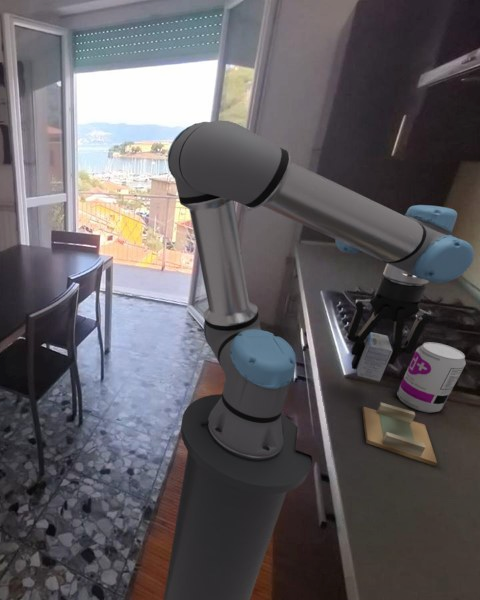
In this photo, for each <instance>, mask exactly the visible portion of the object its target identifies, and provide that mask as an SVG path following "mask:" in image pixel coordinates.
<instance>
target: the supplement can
mask: <svg viewBox="0 0 480 600" xmlns="http://www.w3.org/2000/svg"><path fill="white" fill-rule="evenodd" d="M465 358H466V355H465V354H464V353H463V352H462V351H461V350H459V349H457V348H455V347H452V346H451V345H447V344H444V343H439V342H432V341H431V342H430V341H428V342H427V341H426V342H424V343H422V345H420V346H418V347H417V348H416V350H415V351H414V354H413V356H412V358H411V361H410V363H409V364H408V367H407V369H406V371H405V374H404V375H403V378H402V380H401V382H400V384H399V386H398V388H397V391H396V396H397V397H398V399H399V400H400V401H401V402H402V403H403V404H404V405H405V406H408V407H409V408H411V409H413V410H416V411H418V412H423V413H428V414H429V413H437V412H440V411H442V409H443V408H444V405H445V404H446V402H447V400H448V398H449V396H450V394H451V393H452V391H453V390H454V387H455V385H456V383H457V382H458V380H459V378H460V376H461V374H462V372H463V370H464V368H465V366H466V365H467V361H466V359H465Z"/></svg>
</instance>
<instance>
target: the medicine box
mask: <svg viewBox="0 0 480 600" xmlns="http://www.w3.org/2000/svg"><path fill="white" fill-rule="evenodd" d="M364 344H365V348H364V350H363V353H362V355H361V358H360V360H359V363H358V365H357V368H356V369H355V370H356V376H357V377H360V378H364V379H367V380H372V381H375V382H380V381H381V380H382V378H383V377H382V375H383V373H384V370H385V368H386V366H387V363H388V361H389V359H390V356H391V354H392V352H393V350H392V345H391V342H390V339H389V336H388V335H385V334H381V333H377V332H372V331H371V333H370V334H369V335H368V337H367V338H366V339H365V340H364ZM387 367H388V366H387ZM386 369H387V368H386ZM385 371H386V370H385ZM384 374H385V373H384ZM383 376H384V375H383Z"/></svg>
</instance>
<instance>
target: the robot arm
mask: <svg viewBox="0 0 480 600" xmlns="http://www.w3.org/2000/svg"><path fill="white" fill-rule="evenodd" d="M167 166H168V170H169V172H170V175H171V176H172V177H173V178H174V181H175V187H176V190H177V196H178V200H179V204H180V205H181V206H182V207H185V208H186V209H188V210H189V215H190V220H191V227H192V230H193V235H194V238H195V246H196V250H197V254H198V259H199V265H200V270H201V274H202V281H203V285H204V291H205V295H206V301H207V305H208V306H207V307H206V308H205V309H204V311H203V320H204V321H203V335H204V338H205V341H206V343H207V344H208V346H209V347H210V349H211V351H212V352H213V355H214V356H215V358H216V360H217V363H218V364H219V366H220V368H221V369H222V371H223V373H224V382H223V383H224V384H223V387H222V393H221V394H222V397H221V398H220V400H219V401H218V403H217V404H216V405H215V407H214V408H213V410H212V411H211V413H210V415H209V418H208V420H207V421H200V423H201V426H203V425H207V427H208V432H209V434H210V436H211V438H212V439H213V440H214V442H215V443H216V444H217V445H218V446H219V447H221V448H222V449H223V450H225V451H226V452H228V453H230V454H232V455H234V456H236V457H238V458H241V459H244V460H249V461H259V462H260V461H268V460H271V459H273V458H275V457H276V456H278V455H279V453H280V452H281V449H282V446H283V439H284V436H283V433H284V431H283V427H282V423H281V413H282V412H283V409H284V406H285V403H286V400H287V397H288V393H289V390H290V386H291V383H292V380H293V378H294V376H295V371H296V363H297V357H296V356H297V355H296V352H295V350H294V348H293V346H292V345H291V344H289V342H288V341H286V340H285V339H284V338H282V337H281V336H280V335H279V336H275V333H272V332H270V331H266V330H263V329H262V328H261V322H260V317H259V309H258V305H257V304H256V303H255V302H253V301H251V300H250V299H249V293H248V286H247V279H246V273H245V272H246V271H245V266H244V258H243V253H242V252H243V251H242V246H241V239H240V231H239V225H238V218H237V213H236V211H237V210H236V205H235V202H236V203H238V204H241V205H243V206H245V207H248V208H250V209H257V208H260V207H263V208H266V209H268V210H270V211H272V212H275V213H276V214H279V215H281V216H283V217H285V218H287V219H290V220H292V221H295V222H296V223H298V224H301V225H303V226H306V227H307V228H310V229H312V230H314V231H316V232H319V233H320V234H323V235H325V236H327V237H329V238H332V239H334V240H335V245H336V248H337V249H338V250H339V251H340V252H341V253H342V252H343V253H346V254H347V253H348V254H354V255H358V254H363V255H366V256H369V257H372V258H374V259H376V260H378V261H380V262H383V263H385V264H386V265H385V266H384V267H385V268H384V269H383V273H382V274H383V276H382V277H381V278H380V280H379V283H378V286H377V288H376V291H375V293H374V294H373V295H372V296H371V297H370V298H367V299H362V298H359V297H358V298H355V309H354V312H353V316H352V319H351V322H350V324H349V327H348V330H347V333H346V336H347V339H348V340H349V341H353V343H352V346H351V349H350V352H351V355H352V356H353V358H352V361H351V369H352V370H356V368H357V365H358V363H359V360H360V358H361V355H362V353H363V350H364V348H365V344H364V340H365V339H366V338H367V337H368V335H369V334H370V333H371V332H372V331H374V329H375V328H376V327H377V326H378V324H379V323H381V321H382V320H390V321H392V322H393V333H392V345H391V347H392V350H393V352H392V354H391V356H390V359H389V361H388V363H387V366H386V368H385V370H384V373H383V375H382V377H381V378H383V377H384V376H385V375H384V374H385V372H386V370H387V368H388V367H389V365H395V363H396V361H397V359H398V357H399V356H400V355H401V354H402V353H405V354H412V353H413V350H414V349H415V347H416V345H417V344H418V341H419V339H420V336H421V335H422V333H423V331H424V329H425V327H426V325H427V324H429V323H430V322H431V321H432V320H433V319H434V317H433V315H432V313H431V312H430V311H428V310H423V309H422V308H421V307H420V302H421V300H422V297H423V295H424V293H425V291H426V289H427V286H426V284H428V283H434V284H440V283H441V284H442V283H447V282H451V281H454V280H456V279H457V278H458V279H459V277H461V276H462V275H463V274H464V273H465V272H466V271H467V270H468V269H469V268H470V267H471V265H472V264H473V262H474V259H475V250H474V248H473V246H472V245H471V243H469V242H468V241H466V240H465V239H461V238H457V236H455V235H452V233H453V231H454V227H455V224H456V221H457V219H458V212H457V211H456V210H455V209H453V208H450V207H445V206H438V205H430V204H429V205H428V204H427V205H425V204H417V205H411V206H410V207H408V208H407V211H406V213H405V214H401V212H400V213H399V212H398V211H395V210H393V209H391V208H389V207H387V206H385V205H383V204H381V203H379V202H376V200H375V201H374V200H372V199H371V198H368V197H366V196H364V195H362V194H360V193H359V192H356V191H354V190H352V189H350V188H347V187H345V186H343V185H341V184H339V183H337V182H335V181H333V180H331V179H329V178H326V177H324V176H322V175H321V174H318V173H317V172H314V171H312V170H310V169H308V168H305V167H304V166H301V165H299V164H298V163H295V162H293V161H292V157H291V153H290V151H288V150H286V149H284V148H283V147H280V146H278V145H277V144H274V143H272V142H271V141H269V140H267V139H266V138H264V137H262V136H261V135H258V134H256V133H255V132H253V131H251V130H249V129H248V128H246V127H244V126H243V125H241V124H240V123H236V122H233V121H230V120H212V121H201V122H197V123H193V124H191V125H190V126H187V127H186V128H185V129H183V130H181V131H180V132H179V133H178V134H177V135H176V137H175V138H174V139H173V141H172V142H171V144H170V146H169V149H168V153H167ZM369 306H371V307H372V309H373V313H372V314H371V316H370V317H369V318H368V320H367V321H366V323H364V325H363V327H362V328H361V329H360V330H359V331H358V329H359V326H360V324H361V323H360V322H361V320H362V318H363V314H364V310H366V309H368V307H369ZM413 315H415V320H414V321H413V324H412V326H411V329H410V331H409V333H408V334H407V337H406V339H405V341H404V343H403V344H402V342H403V333H404V326H405V320H406V319H408V318H410V317H412V316H413ZM357 331H358V333H357ZM282 414H283V413H282Z"/></svg>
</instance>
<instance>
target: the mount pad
mask: <svg viewBox="0 0 480 600" xmlns="http://www.w3.org/2000/svg"><path fill="white" fill-rule="evenodd" d="M361 411H362V419H363V428H364V434H365V435H364V436H365V443H366V444H368V445H371V446H373V447H377V448H380V449H383V450H386V451H388V452H392V453H394V454H398V455H400V456H403V457H407V458H409V459H412V460H415V461H419V462H421V463H424V464H426V465H429V466H433V467H436V466H437V464H438V461H437V457H436V455H435V452H434V448H433V446H432V445H433V444H432V442H431V439H430V437H429V436H430V435H429V434H428V430H427V427H426V424H423V423H421V422H418V421H414V419H415V417H416V412H415V411H413V410H409V409H406V408H402V407H399V406H396V405H391V404H388V403H385V402H380V403H379V404H378V407H377V409H373V408H369V407H366V406H363V407H362V409H361Z"/></svg>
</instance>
